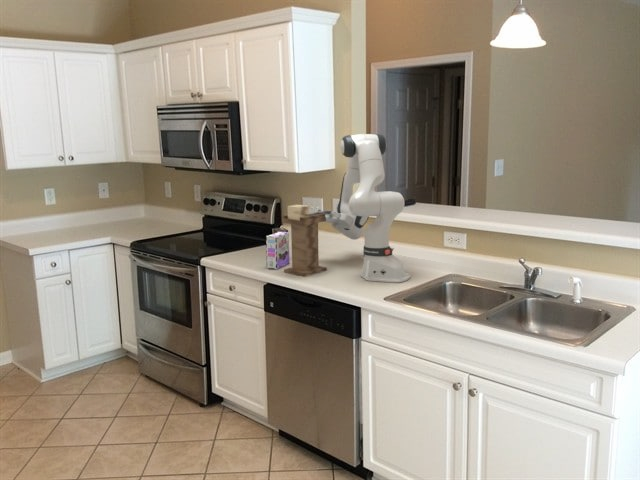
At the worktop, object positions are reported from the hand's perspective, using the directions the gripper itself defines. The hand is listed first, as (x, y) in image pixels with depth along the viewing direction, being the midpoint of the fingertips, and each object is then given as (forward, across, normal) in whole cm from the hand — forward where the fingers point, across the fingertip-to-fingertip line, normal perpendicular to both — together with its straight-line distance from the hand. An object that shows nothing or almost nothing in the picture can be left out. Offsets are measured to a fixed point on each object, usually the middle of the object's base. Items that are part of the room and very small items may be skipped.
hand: (324, 211), depth 288 cm
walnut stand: (-1, 0, +31) cm, 31 cm away
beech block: (+6, 0, +5) cm, 8 cm away
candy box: (-1, -18, +31) cm, 36 cm away
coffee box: (-11, -29, +25) cm, 40 cm away
